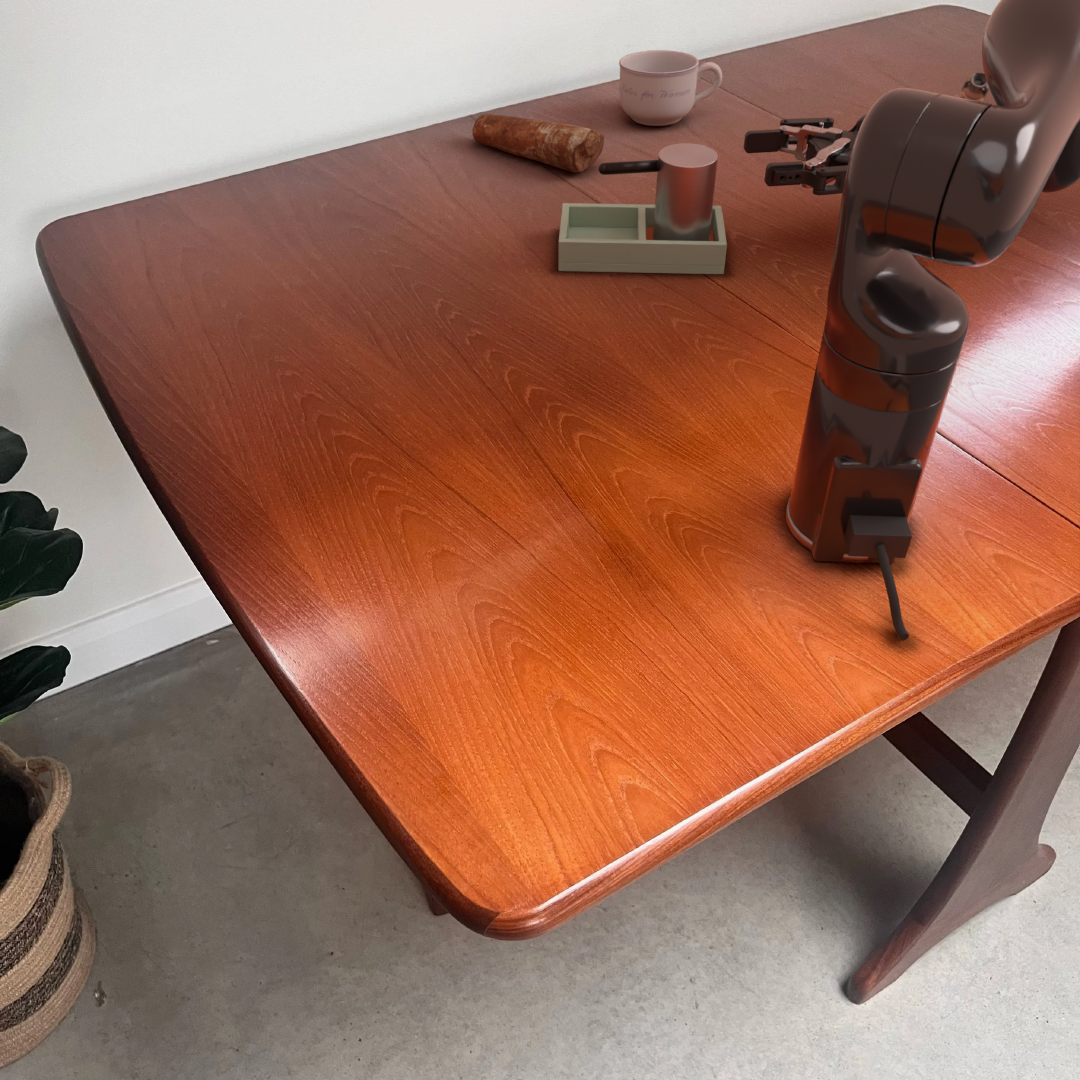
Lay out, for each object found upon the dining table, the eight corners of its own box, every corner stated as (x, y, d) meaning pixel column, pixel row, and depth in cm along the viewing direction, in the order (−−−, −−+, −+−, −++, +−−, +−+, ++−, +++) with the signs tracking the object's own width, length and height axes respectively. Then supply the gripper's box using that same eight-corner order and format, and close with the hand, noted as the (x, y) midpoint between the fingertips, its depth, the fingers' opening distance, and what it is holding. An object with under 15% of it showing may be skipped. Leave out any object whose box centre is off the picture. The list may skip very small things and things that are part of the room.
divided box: (723, 274, 113) (727, 244, 111) (558, 271, 114) (558, 241, 112) (718, 234, 120) (721, 205, 118) (562, 231, 121) (562, 202, 119)
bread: (579, 183, 131) (580, 139, 127) (465, 147, 139) (462, 104, 135) (608, 166, 134) (610, 123, 130) (495, 132, 143) (493, 90, 139)
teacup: (608, 129, 143) (610, 68, 138) (627, 100, 151) (629, 42, 145) (709, 139, 140) (715, 78, 135) (722, 110, 148) (729, 51, 142)
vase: (985, 124, 143) (997, 79, 139) (944, 118, 145) (955, 74, 140) (991, 111, 146) (1003, 66, 142) (951, 105, 148) (962, 61, 144)
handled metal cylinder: (701, 228, 119) (710, 141, 112) (714, 254, 114) (724, 165, 107) (592, 235, 118) (594, 147, 111) (600, 261, 113) (603, 172, 106)
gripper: (886, 90, 114) (742, 97, 113) (937, 141, 104) (779, 150, 103) (872, 157, 119) (734, 165, 118) (919, 212, 109) (768, 221, 108)
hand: (755, 158), depth 110 cm, fingers open, 8 cm apart
